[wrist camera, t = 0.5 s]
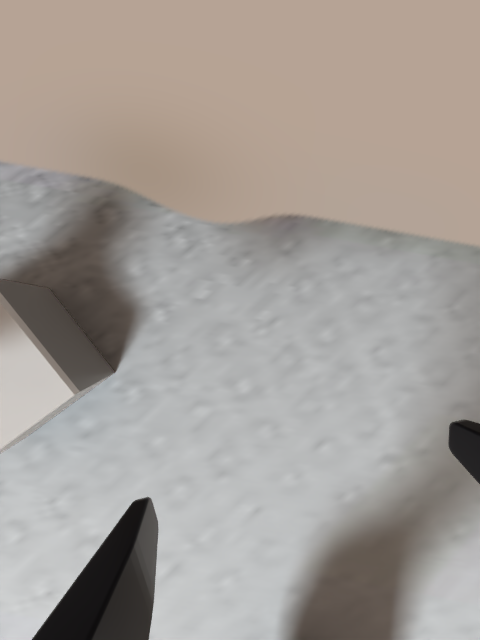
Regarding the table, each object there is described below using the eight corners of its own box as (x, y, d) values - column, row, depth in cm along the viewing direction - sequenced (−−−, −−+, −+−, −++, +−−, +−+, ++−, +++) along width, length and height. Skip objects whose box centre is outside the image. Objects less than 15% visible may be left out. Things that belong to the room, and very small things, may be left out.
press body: (115, 372, 20) (74, 394, 14) (25, 438, 19) (-58, 490, 13) (48, 288, 20) (-23, 274, 14) (-47, 352, 19) (-166, 367, 13)
